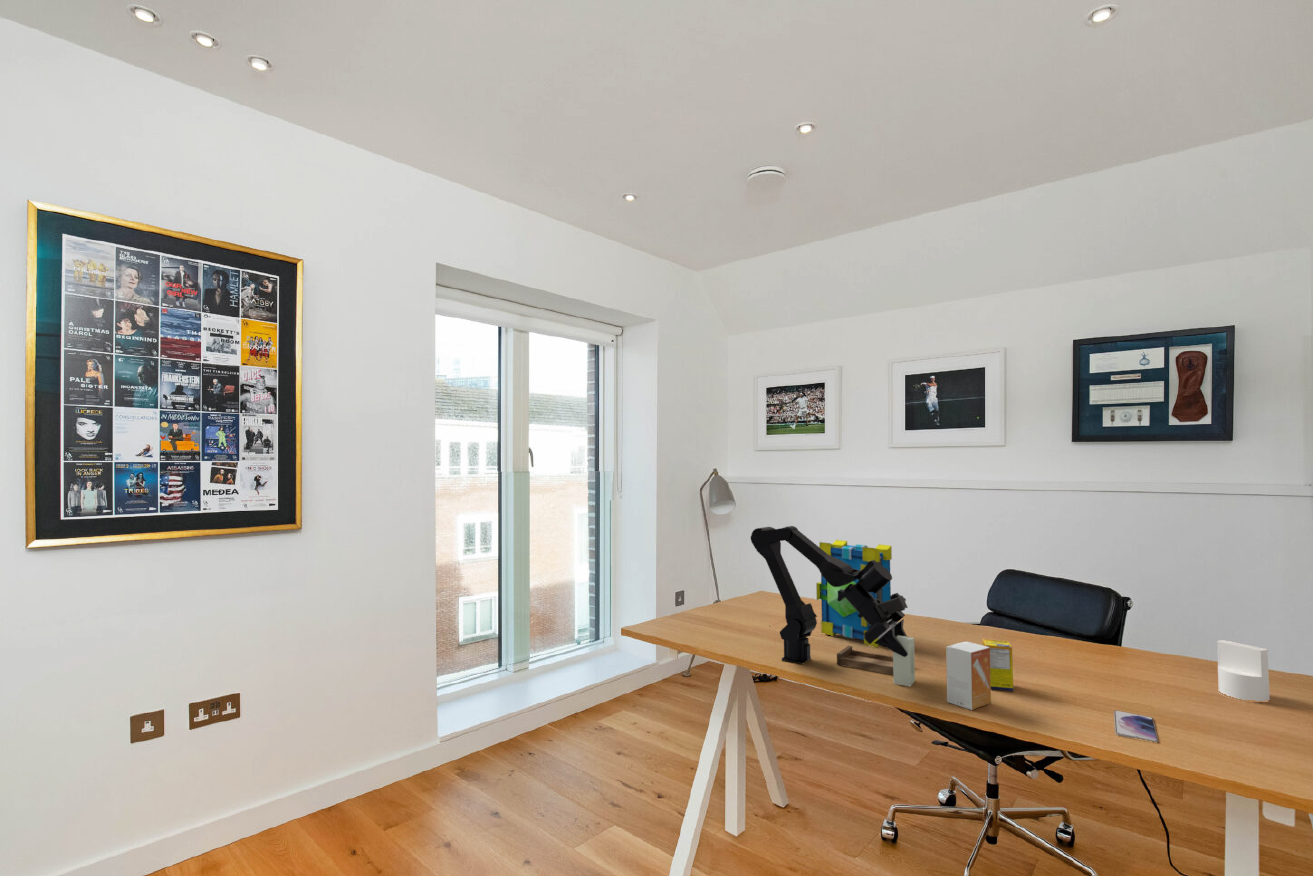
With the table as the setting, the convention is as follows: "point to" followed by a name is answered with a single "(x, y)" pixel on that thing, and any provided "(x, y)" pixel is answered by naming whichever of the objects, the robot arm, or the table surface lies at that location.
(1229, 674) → the base with upright slab
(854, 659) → the wooden tray
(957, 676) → the small box
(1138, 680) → the table surface
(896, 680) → the pale green recessed block
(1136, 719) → the smartphone
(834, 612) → the blue toy crate
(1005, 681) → the supplement box
